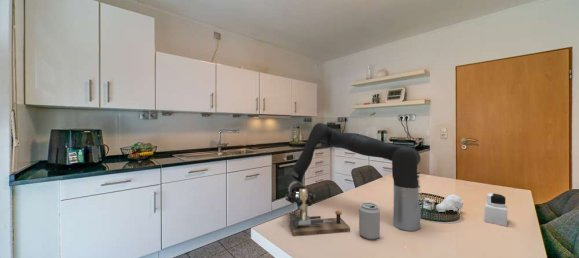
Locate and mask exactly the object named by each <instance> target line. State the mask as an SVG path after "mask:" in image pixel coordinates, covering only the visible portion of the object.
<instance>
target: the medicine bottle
mask: <svg viewBox="0 0 579 258" xmlns="http://www.w3.org/2000/svg"><path fill="white" fill-rule="evenodd" d="M483 216H484V220H483V221H484V222H485V223H489V224H494V225H496V226H497V225H498V226H503V227H508V206H507V205H506V196H504V195H502V194H500V193H493V192H490V193H487V194H486V201H484V215H483Z"/></svg>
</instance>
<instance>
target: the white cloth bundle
mask: <svg viewBox="0 0 579 258" xmlns="http://www.w3.org/2000/svg"><path fill="white" fill-rule="evenodd" d="M463 206H464V202H463V199H462V198H461V197H460V196H458V194H452V193H451V194H449V195H447V196H446V197H444V199H443V200H442V201H441V203H438V204H436V206H435V209H436V211H437V212H438V213H439V212H446V211H449V210H453V212H455V211H457V210H458V209H459V214H460V213H461V210H462V209H463Z"/></svg>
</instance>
